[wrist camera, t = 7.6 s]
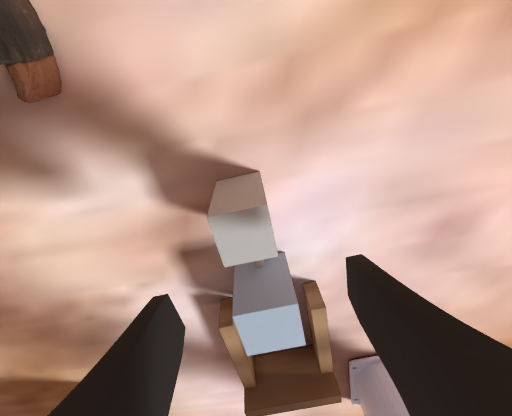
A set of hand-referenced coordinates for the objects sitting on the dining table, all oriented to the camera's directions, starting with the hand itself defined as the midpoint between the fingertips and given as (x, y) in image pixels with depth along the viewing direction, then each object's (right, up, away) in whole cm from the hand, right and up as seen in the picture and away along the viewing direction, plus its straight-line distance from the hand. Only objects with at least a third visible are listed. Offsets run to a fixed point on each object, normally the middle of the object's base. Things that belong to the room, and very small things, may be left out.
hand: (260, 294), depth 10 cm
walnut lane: (+2, -9, +15) cm, 17 cm away
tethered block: (0, +1, +10) cm, 10 cm away
